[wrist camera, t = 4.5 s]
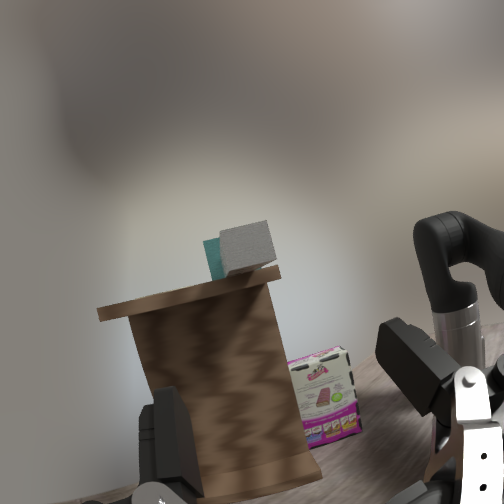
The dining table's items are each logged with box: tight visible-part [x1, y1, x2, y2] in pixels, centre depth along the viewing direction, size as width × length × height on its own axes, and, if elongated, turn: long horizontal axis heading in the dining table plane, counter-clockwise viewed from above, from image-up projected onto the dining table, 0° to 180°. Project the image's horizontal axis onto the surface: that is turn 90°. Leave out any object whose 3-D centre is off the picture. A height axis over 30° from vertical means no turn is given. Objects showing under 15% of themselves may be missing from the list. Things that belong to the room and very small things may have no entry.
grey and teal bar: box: [203, 220, 277, 281], centre depth 29 cm, size 6×23×5 cm, turn 6°
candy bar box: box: [287, 346, 362, 450], centre depth 43 cm, size 11×5×16 cm, turn 91°
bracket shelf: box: [97, 265, 323, 504], centre depth 33 cm, size 20×12×32 cm, turn 96°
